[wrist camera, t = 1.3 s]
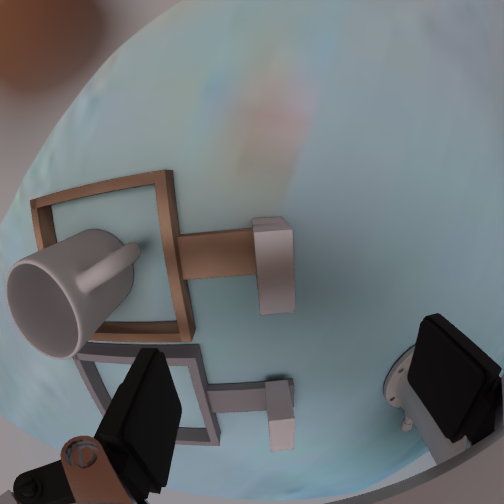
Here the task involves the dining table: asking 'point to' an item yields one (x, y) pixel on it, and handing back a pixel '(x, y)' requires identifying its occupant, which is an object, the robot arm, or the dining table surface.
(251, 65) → the dining table surface
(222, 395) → the grey frame with handle
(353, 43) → the dining table surface
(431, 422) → the robot arm
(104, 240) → the mug
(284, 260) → the brown frame with handle
